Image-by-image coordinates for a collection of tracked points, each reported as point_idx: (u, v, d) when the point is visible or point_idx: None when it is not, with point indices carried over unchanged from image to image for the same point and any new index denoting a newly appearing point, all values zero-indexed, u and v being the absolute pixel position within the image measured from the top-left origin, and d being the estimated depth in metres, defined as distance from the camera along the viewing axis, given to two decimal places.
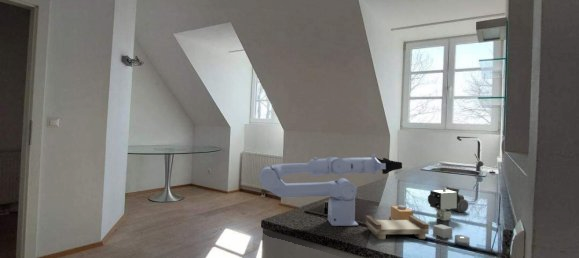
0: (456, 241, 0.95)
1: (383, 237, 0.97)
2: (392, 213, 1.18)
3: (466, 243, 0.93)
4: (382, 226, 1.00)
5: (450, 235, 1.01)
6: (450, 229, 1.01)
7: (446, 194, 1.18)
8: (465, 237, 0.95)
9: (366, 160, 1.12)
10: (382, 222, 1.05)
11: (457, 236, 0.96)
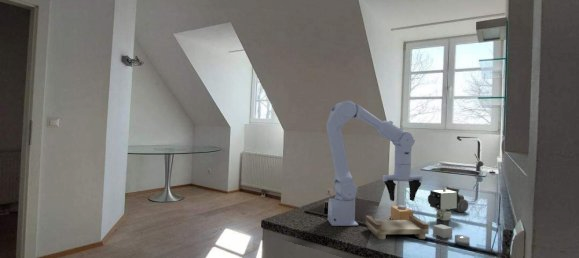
0: (456, 241, 0.95)
1: (383, 237, 0.97)
2: (392, 213, 1.18)
3: (466, 243, 0.93)
4: (382, 226, 1.00)
5: (450, 235, 1.01)
6: (450, 229, 1.01)
7: (446, 194, 1.18)
8: (465, 237, 0.95)
9: None
10: (382, 222, 1.05)
11: (457, 236, 0.96)
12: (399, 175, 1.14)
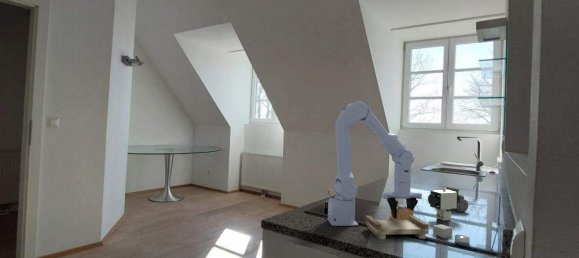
0: (456, 241, 0.95)
1: (383, 237, 0.97)
2: None
3: (467, 243, 0.93)
4: (382, 226, 1.00)
5: (450, 235, 1.01)
6: (450, 229, 1.01)
7: (446, 194, 1.18)
8: (465, 237, 0.95)
9: None
10: (382, 222, 1.05)
11: (457, 236, 0.96)
12: (399, 193, 1.14)
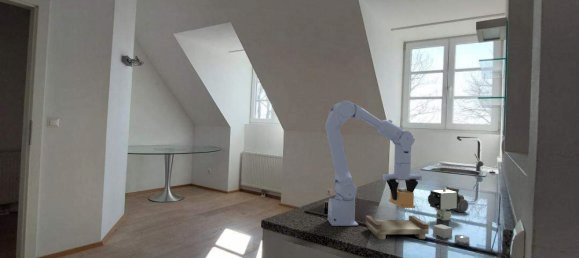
0: (457, 241, 0.94)
1: (383, 237, 0.97)
2: None
3: (467, 242, 0.93)
4: (382, 226, 1.00)
5: (450, 235, 1.01)
6: (450, 229, 1.01)
7: (446, 194, 1.18)
8: (465, 236, 0.95)
9: None
10: (382, 222, 1.05)
11: (457, 236, 0.95)
12: (399, 174, 1.14)
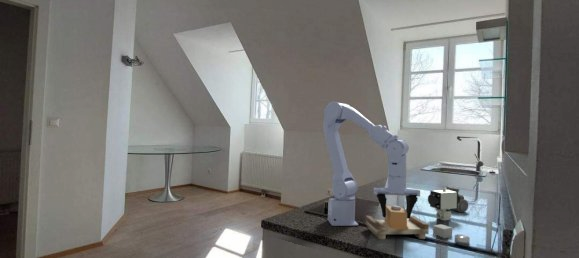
0: (459, 242, 0.94)
1: (383, 237, 0.97)
2: (386, 214, 1.05)
3: (468, 242, 0.94)
4: (382, 226, 1.00)
5: (450, 235, 1.01)
6: (450, 229, 1.01)
7: (446, 194, 1.18)
8: (464, 236, 0.95)
9: None
10: (382, 222, 1.05)
11: (458, 237, 0.95)
12: (391, 188, 1.01)
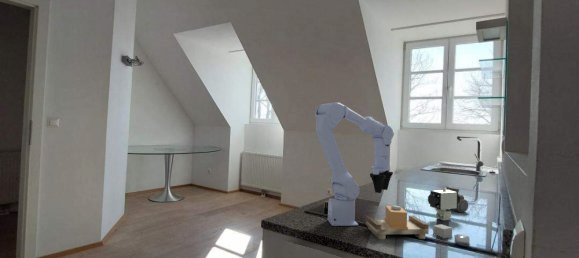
0: (461, 242, 0.94)
1: (383, 237, 0.97)
2: (386, 214, 1.05)
3: None
4: (382, 226, 1.00)
5: (450, 235, 1.01)
6: (450, 229, 1.01)
7: (446, 194, 1.18)
8: (464, 236, 0.95)
9: None
10: (382, 222, 1.05)
11: (458, 237, 0.95)
12: (385, 167, 1.18)
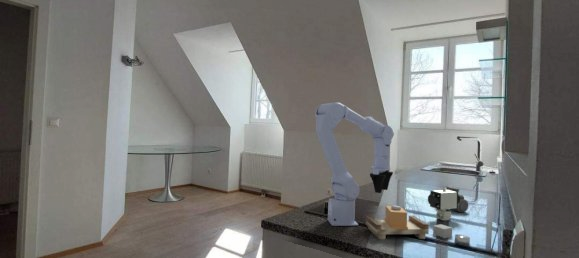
0: (463, 242, 0.93)
1: (383, 237, 0.97)
2: (386, 214, 1.05)
3: (469, 242, 0.94)
4: (382, 226, 1.00)
5: (450, 235, 1.01)
6: (450, 229, 1.01)
7: (446, 194, 1.18)
8: (464, 236, 0.96)
9: None
10: (382, 222, 1.05)
11: (460, 237, 0.94)
12: (385, 167, 1.18)
